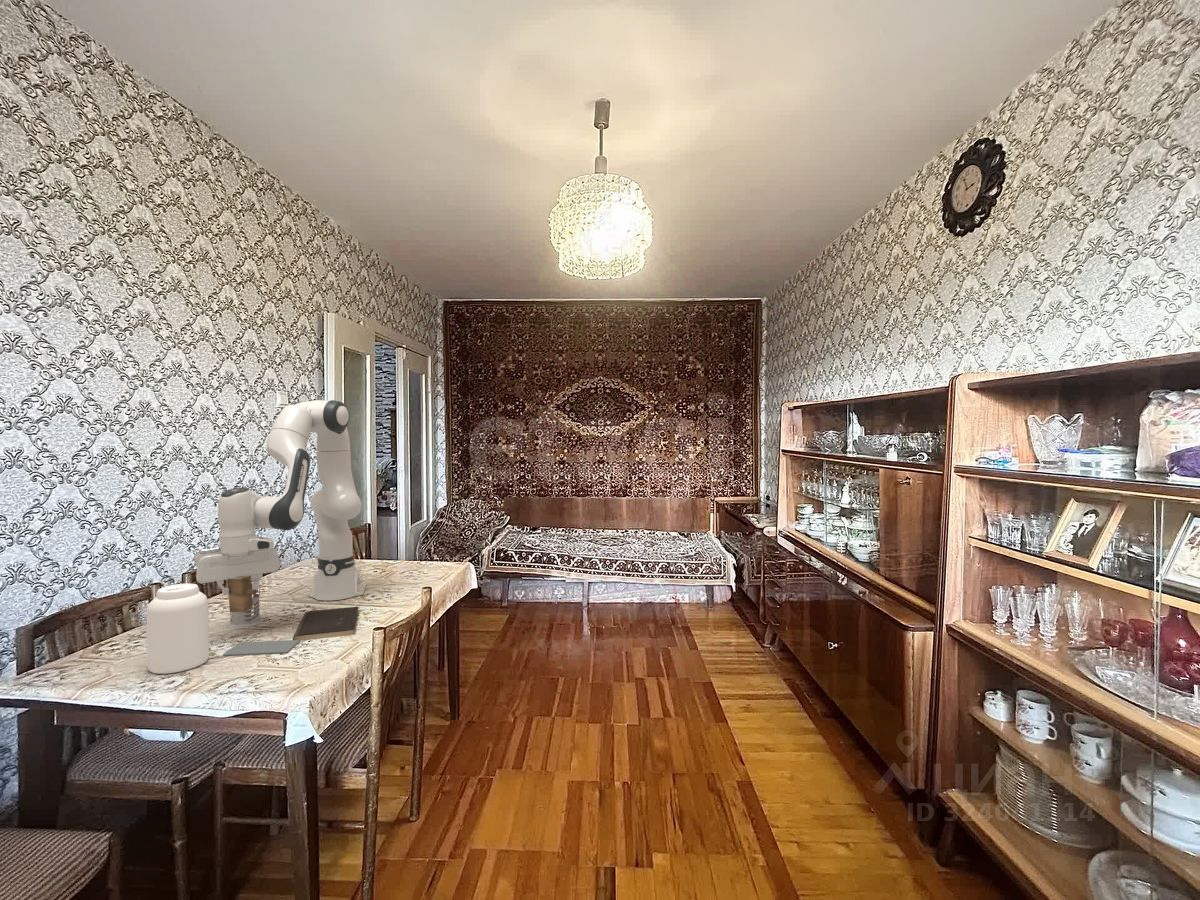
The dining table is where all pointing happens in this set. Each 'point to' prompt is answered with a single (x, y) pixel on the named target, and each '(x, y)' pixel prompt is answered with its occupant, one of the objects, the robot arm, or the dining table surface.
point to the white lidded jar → (177, 629)
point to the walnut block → (240, 594)
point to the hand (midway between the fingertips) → (240, 592)
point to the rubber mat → (262, 647)
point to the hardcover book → (327, 623)
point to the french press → (247, 613)
